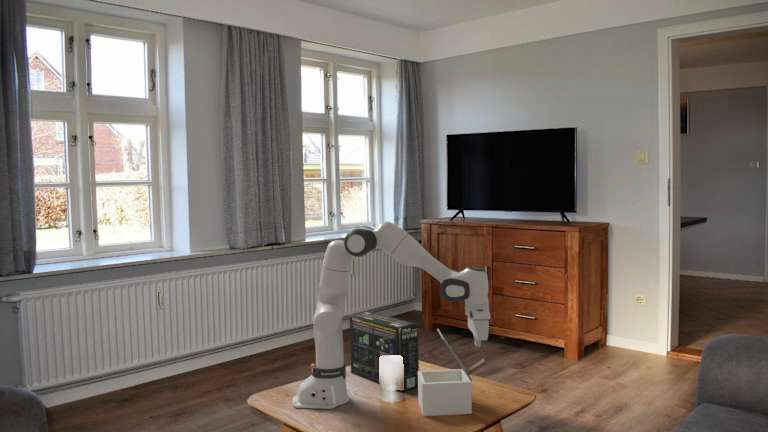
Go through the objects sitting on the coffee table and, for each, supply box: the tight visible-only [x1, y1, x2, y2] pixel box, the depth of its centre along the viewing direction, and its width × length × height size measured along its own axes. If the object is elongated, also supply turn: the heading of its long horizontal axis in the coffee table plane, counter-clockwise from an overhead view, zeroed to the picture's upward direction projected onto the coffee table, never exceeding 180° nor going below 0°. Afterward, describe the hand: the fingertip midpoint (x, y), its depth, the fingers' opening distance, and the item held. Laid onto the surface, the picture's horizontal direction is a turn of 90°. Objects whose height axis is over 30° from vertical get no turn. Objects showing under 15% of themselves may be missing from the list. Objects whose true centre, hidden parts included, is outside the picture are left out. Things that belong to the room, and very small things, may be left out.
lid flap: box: [436, 328, 487, 383], centre depth 234 cm, size 19×16×9 cm
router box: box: [348, 311, 420, 391], centre depth 268 cm, size 36×11×27 cm, turn 39°
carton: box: [417, 368, 473, 417], centre depth 235 cm, size 18×15×12 cm
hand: (477, 345), depth 234 cm, fingers closed
